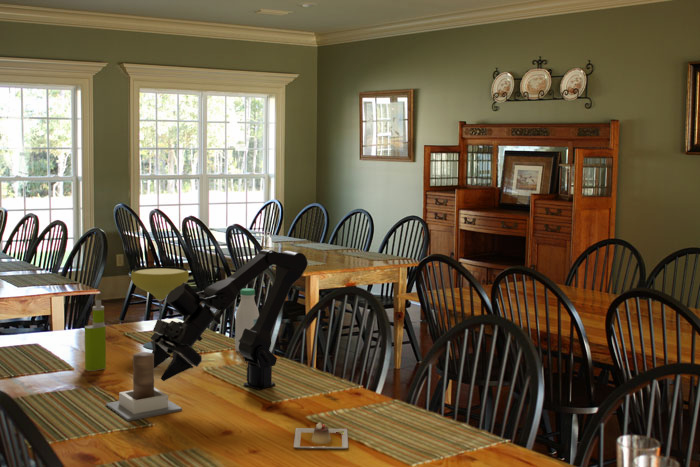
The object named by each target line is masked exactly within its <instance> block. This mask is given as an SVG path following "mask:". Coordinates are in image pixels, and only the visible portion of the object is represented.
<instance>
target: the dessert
mask: <svg viewBox="0 0 700 467" xmlns="http://www.w3.org/2000/svg"><path fill="white" fill-rule="evenodd" d="M315 426H316V427H314V428H312V427H310V428H308V427H296V428H295V433H294V439H293V441H294V442H293V448H296V449H309V450H314V449H315V450H317V449H318V450H319V449H322V450H323V449H325V450H345V449H346V450H347V449H349V438H348V436H349V435H348V428H328V427H327V426H326V424H324V423H323V422H322V421H320V422H318V423H317V424H316V425H315ZM338 431H344V435H342V434H341V446H301V438H302V437H301V436H302V433H310V434H311V433H312V436H311V440H310V441H311V442H312V443H314V444H319V445H323V444H324V445H325V444H329V443H330V442H332V438H331V434H337V433H336V432H338Z"/></svg>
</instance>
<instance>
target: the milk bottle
mask: <svg viewBox="0 0 700 467" xmlns="http://www.w3.org/2000/svg"><path fill="white" fill-rule="evenodd" d="M239 293H240V302H239V303H238V304H239V305H238V307H237V309H236V311H235V312H236V313H235V322H234V323H235V326H234V328H235V329H234V330H235V332H234V333H235V334H234V346H235V347H234V348H235V352H239V353H240V351H239V344H240V342H239V340H240V339H241V337H242V334H243V331H244V329H245V328H246V329H249V330H250V329H251V328H252V327H253V326H254V325H255V323H256V321H257V319H258V317H259V315H260V312H259V309H258V306H257V303H256V301H255V296H256V295H255V294H256V289H255V288H245V287H244V288H243V289H242V290H241V291H240V292H239Z"/></svg>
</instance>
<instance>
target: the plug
mask: <svg viewBox="0 0 700 467" xmlns="http://www.w3.org/2000/svg"><path fill="white" fill-rule="evenodd" d="M132 380H133V381H132V384H133V386H132V390H133V399H135V400H139V399H145V398H150V397H154V388H155V368H154V354H153V353H152V352H149V351H147V352H146V351H143V352H136V353H133V355H132Z"/></svg>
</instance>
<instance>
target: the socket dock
mask: <svg viewBox="0 0 700 467" xmlns="http://www.w3.org/2000/svg"><path fill="white" fill-rule="evenodd" d="M105 406H106V407H107V406H108V407H107V408H108V409H110V410H111V409H112V411H113V412H114V411H115V412H114V413H115V414H117V415H118V414H119V415H118V416H120V417H121V418H123V419H124V420H125V421H127V422H131V421H135V420H136V421H137V420H141V419H146V418H150V417H157V416H161V415H165V414H171V413H176V412H180V411H181V412H182V411H183V407H181V406H180V405H177V404H176V403H175V402H172V401H171V400H169V395H168V394H166V393H164V392H163V391H161V390H159V389H157V387H154V397H150V398H145V399H139V400H135V399H133V389H130V390H126V391H120V392H118V400H117V401H112V402H106V403H105Z"/></svg>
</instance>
